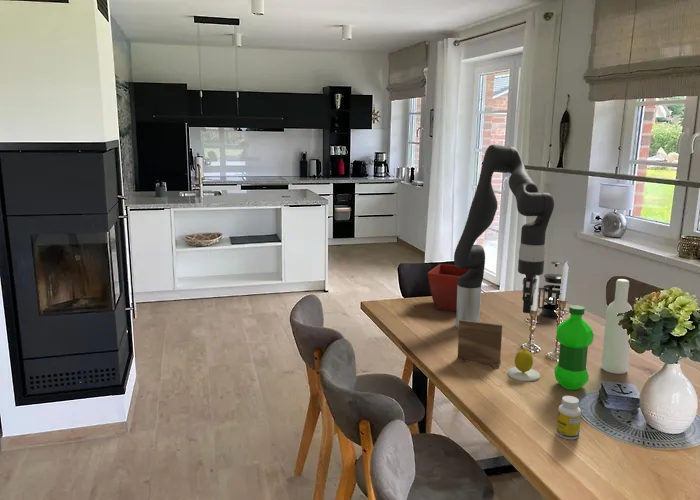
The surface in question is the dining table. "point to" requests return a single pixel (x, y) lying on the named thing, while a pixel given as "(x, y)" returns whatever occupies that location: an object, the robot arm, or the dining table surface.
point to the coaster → (523, 375)
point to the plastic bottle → (573, 349)
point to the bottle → (616, 332)
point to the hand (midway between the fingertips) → (527, 308)
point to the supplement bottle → (569, 418)
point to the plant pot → (445, 285)
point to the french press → (550, 294)
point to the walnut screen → (479, 342)
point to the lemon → (523, 360)
